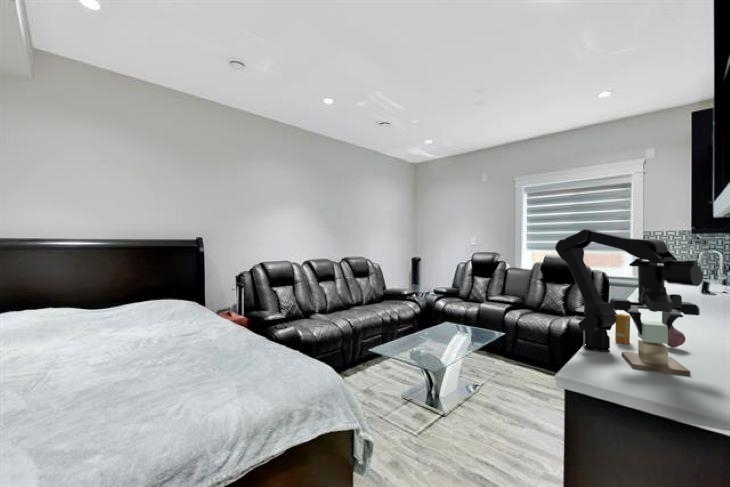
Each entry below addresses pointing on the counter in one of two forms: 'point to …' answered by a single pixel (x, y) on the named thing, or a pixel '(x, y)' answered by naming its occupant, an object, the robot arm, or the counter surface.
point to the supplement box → (622, 329)
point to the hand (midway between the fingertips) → (652, 335)
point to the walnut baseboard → (640, 364)
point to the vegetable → (675, 337)
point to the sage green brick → (654, 332)
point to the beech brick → (653, 352)
